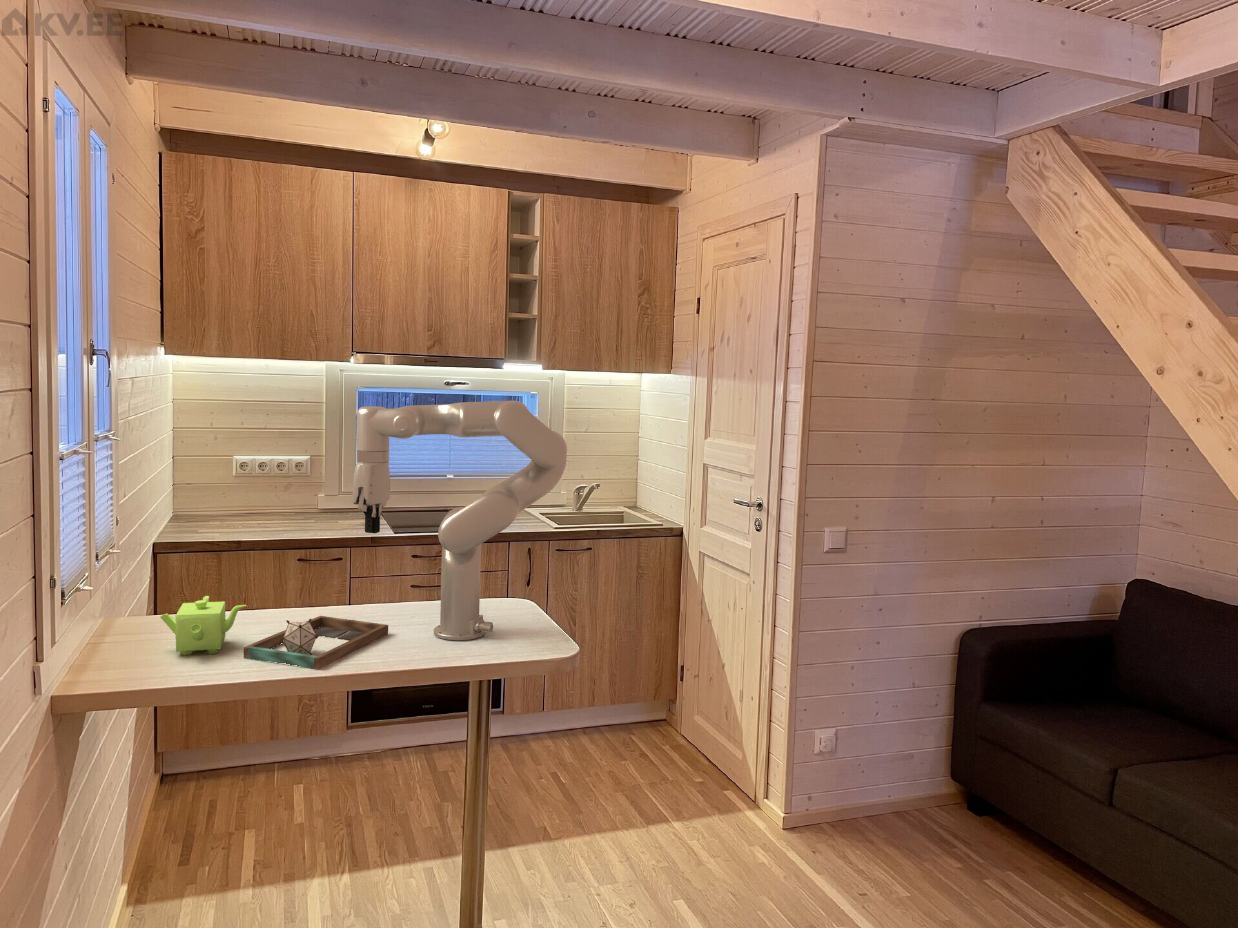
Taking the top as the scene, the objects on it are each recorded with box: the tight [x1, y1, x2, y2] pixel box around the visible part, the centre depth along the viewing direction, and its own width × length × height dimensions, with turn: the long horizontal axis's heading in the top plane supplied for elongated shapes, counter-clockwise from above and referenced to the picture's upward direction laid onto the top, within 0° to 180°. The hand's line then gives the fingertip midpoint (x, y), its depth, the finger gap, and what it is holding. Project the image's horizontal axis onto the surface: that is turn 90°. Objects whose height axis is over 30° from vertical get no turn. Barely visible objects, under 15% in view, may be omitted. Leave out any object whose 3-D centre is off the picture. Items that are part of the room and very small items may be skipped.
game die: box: [279, 618, 321, 655], centre depth 205 cm, size 9×8×10 cm
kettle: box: [159, 595, 247, 656], centre depth 207 cm, size 15×14×11 cm
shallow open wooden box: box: [243, 615, 389, 670], centre depth 213 cm, size 19×28×2 cm
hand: (372, 532), depth 222 cm, fingers closed
